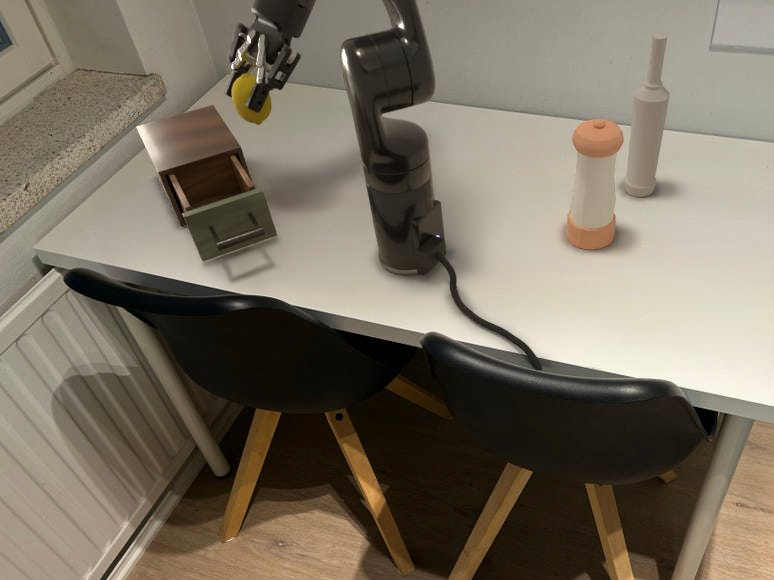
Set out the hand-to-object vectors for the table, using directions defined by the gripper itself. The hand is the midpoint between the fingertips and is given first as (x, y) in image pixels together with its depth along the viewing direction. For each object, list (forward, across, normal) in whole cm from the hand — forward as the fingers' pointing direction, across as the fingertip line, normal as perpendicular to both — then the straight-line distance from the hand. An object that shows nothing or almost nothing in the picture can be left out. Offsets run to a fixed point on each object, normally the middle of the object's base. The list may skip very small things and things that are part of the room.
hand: (241, 103), depth 107 cm
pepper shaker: (-7, +44, +34) cm, 56 cm away
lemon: (+2, 0, +4) cm, 5 cm away
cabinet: (+16, -12, +9) cm, 22 cm away
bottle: (-18, +42, +44) cm, 64 cm away
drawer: (+19, +3, +5) cm, 20 cm away
